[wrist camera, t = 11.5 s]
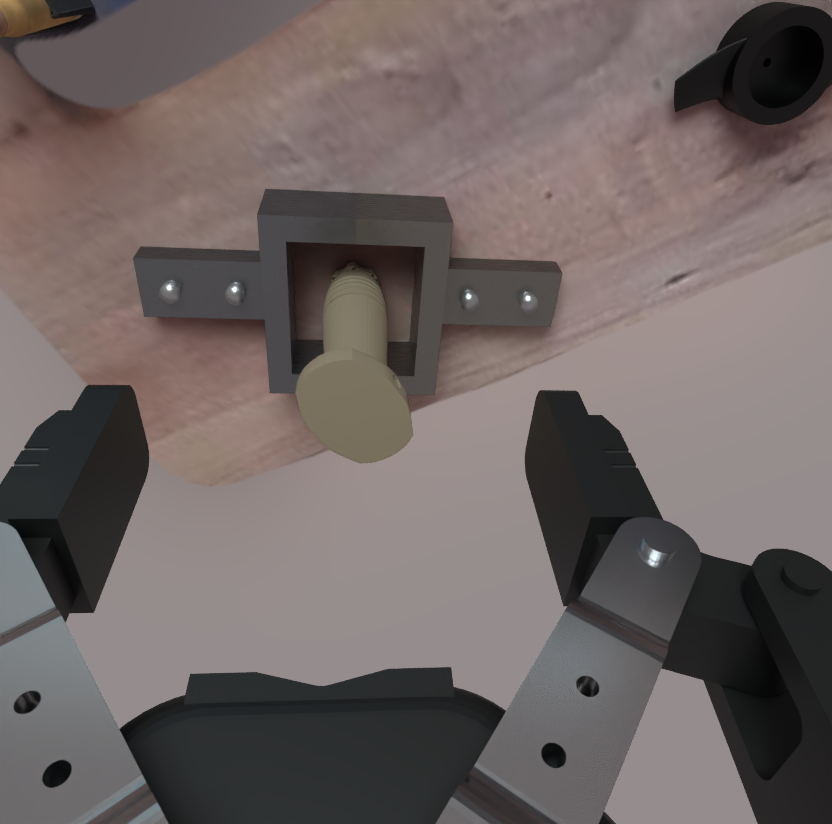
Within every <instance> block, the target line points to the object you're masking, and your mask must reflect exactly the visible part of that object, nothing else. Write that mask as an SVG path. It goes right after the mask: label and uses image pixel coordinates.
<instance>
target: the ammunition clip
mask: <svg viewBox="0 0 832 824" xmlns="http://www.w3.org/2000/svg"><path fill="white" fill-rule="evenodd" d="M93 12H95V9H94V5H93V4H92V2H91V1H90V0H0V37H4V36H5V37H20V36H23V35H32V34H37V33H43V32H49V31H55V30H60V29H66V28H70V27H71V26H73V25H74V24H76V23H78V22H79V21H81V20H82V19H84V18H86V17H87V16H89V15H90V14H92V13H93Z"/></svg>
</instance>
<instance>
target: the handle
mask: <svg viewBox="0 0 832 824" xmlns="http://www.w3.org/2000/svg"><path fill="white" fill-rule="evenodd" d="M330 282H331V284H330V287H329V289H328V291H327V294H326V298H325V303H324V308H323V321H322V328H323V347H324V354H322V355H319V356H318V357H316V358H315V359H313V360H312V361H311V362H310V363H309V364H308V365H306V366H305V367H304V369H303V371H302V372H301V374H300V376H299V378H298V381H297V385H296V392H295V393H296V397H297V401H298V406H299V409H300V413H301V416H302V418H303V421H304V423H305V424H306V426H307V427H308V428H309V430H310V431H311V432H312V433H313V434H314V435H315V436H316V437H317V438H318V439H319V441H320V442H321V443H322V444H323V445H325V446H326V447H327V448H328V449H330V450H331V451H333V452H335V453H337V454H339V455H341V456H344V457H346V458H348V459H350V460H353V461H356V462H358V463H372V462H377V461H380V460H383V459H385V458H388V457H390V456H392V455H394V454H395V453H397V452H399V451H400V450H401V449H402V448H404V447H405V446H406V445H407V443H408V442H409V441H410V439H411V437H412V436H413V431H412V422H411V414H410V408H409V402H408V398H407V394H406V391H405V390H404V388H403V386H402V384H401V382H400V381H399V379H398V377H397V376H396V374H395V373H394V372H393V371H392V370H391V369H390V368H389V367H388V366H387V338H388V320H387V311H386V306H385V301H384V297H383V294H382V291H381V288H380V286H379V284H378V282H379V280H378V277H377V275H376V273H375V271H374V270H373V269H371V268H369V269H367V268H364V267H361V266H359V265H358V264H357V263H356V262H355V261H352V262H348V264H347V265H346V266H345V267H344V268H342V269H340V270H335V271H334V273H333V275H332V277H331V280H330Z"/></svg>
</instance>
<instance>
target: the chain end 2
mask: <svg viewBox="0 0 832 824" xmlns="http://www.w3.org/2000/svg"><path fill="white" fill-rule="evenodd" d="M356 210H357V228H356V244H361V245H387V246H413V247H417V248H416V261H415V274H414V288H413V301H412V314H411V328H410V341H409V342H387V366H388V367H389V368H390V369H391V370H392V371H393V372H394V373H395V374H396V376H397V377H398V379H399V381H400V382H401V384H402V386H403V388H404V390H405V391H406V394H407V395H435V387H436V378H437V369H438V359H439V350H440V341H441V331H442V324H455V325H494V326H534V327H551V323H552V319H553V314H554V309H555V305H556V300H557V296H558V291H559V286H560V282H561V277H562V271H561V270H560V268H559V267H558V265H557V263H556V262H549V261H521V260H494V259H466V258H449V257H450V247H451V238H452V229H453V221H452V218H451V215H450V213H449V210H448V207H447V204H446V201H445V198H444V197H428V196H406V195H385V194H363V193H356Z"/></svg>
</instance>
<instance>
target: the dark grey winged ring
mask: <svg viewBox="0 0 832 824" xmlns="http://www.w3.org/2000/svg"><path fill="white" fill-rule="evenodd" d="M765 59H766V61H765V63H764V64H763V62H764V60H765ZM831 84H832V18H831V17H830V16H829V15H828V14H827V13H826V12H824V11H822V10H820V9H818V8H815V7H810V6H803V5H797V4H791V3H785V2H771V3H767V4H763V5H760V6H758V7H756V8H754V9H752V10H750V11H749V12H747V13H746V14H744V15H743V16H742V17H741V18H739V19H738V20H737V21H736V22H735V23H734V24H733V25H732V27H731V28H730V29H729V30H728V31H727V33H726V34H725V36H724V37H723V39H722V41H721V42H720V44H719V46H718V49H717V51H716V52H715V53H714V54H712V55H711V56H709V57H707V58H706V59H704V60H703V61H701V62H700V63H699V64H697V65H696V66H694V67H693V68H692V69H690V70H689V71H687V72H686V73H685V74H683V75H682V76H681V77H679V78H678V79H677V80H676V81H675V88H674V106H675V112H678V111H680V110H683V109H685V108H688V107H690V106H693V105H696V104H699V103H702V102H705V101H709V100H712V99H716V98H717V99H718V101H719V102H720V103H721V104H722V105H723V106H724V107H725V108H726V109H728V110H729V111H731V112H734V113H736V114H738V115H740V116H742V117H744V118H746V119H748V120H751V121H753V122H755V123H758V124H764V125H773V124H779V123H783V122H786V121H789V120H791V119H793V118H795V117H797V116H798V115H800V114H802V113H803V112H804V111H806V110H807V109H808V108H809V107H811V106H812V105H813V104H814V103H815V102H816V101H817V100H818V99H819V97H820V96H821V95H822V94H823V92H824V91H825V90H826V88H828V87H829V86H830V85H831Z"/></svg>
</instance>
